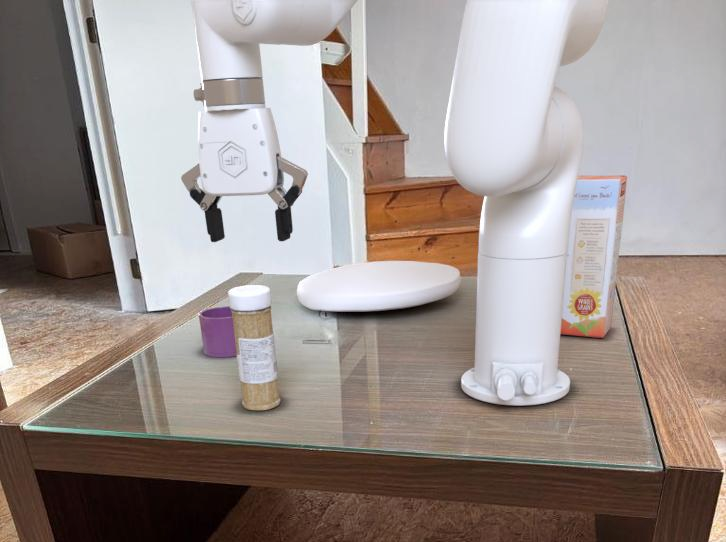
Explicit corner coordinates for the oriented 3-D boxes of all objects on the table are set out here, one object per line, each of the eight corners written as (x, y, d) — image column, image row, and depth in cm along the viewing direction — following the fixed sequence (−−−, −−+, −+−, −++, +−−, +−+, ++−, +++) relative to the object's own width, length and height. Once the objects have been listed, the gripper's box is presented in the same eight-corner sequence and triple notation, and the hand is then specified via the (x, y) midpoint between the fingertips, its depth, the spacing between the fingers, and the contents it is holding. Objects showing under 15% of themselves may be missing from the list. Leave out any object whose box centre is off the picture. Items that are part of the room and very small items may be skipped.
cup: (243, 357, 101) (239, 318, 99) (197, 357, 102) (191, 318, 100) (257, 343, 107) (253, 306, 105) (213, 343, 108) (208, 306, 106)
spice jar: (250, 397, 87) (236, 283, 81) (286, 398, 86) (275, 283, 80) (236, 411, 83) (220, 292, 77) (274, 413, 82) (261, 293, 76)
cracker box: (611, 328, 106) (630, 173, 97) (603, 340, 102) (621, 178, 92) (517, 320, 112) (526, 174, 103) (505, 331, 107) (513, 178, 98)
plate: (280, 294, 114) (308, 262, 137) (288, 334, 117) (314, 296, 140) (460, 270, 110) (457, 241, 133) (463, 313, 112) (460, 277, 136)
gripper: (157, 101, 90) (180, 245, 97) (289, 92, 85) (302, 244, 93) (185, 101, 96) (204, 236, 104) (309, 93, 92) (320, 234, 100)
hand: (250, 240), depth 98 cm, fingers open, 9 cm apart
